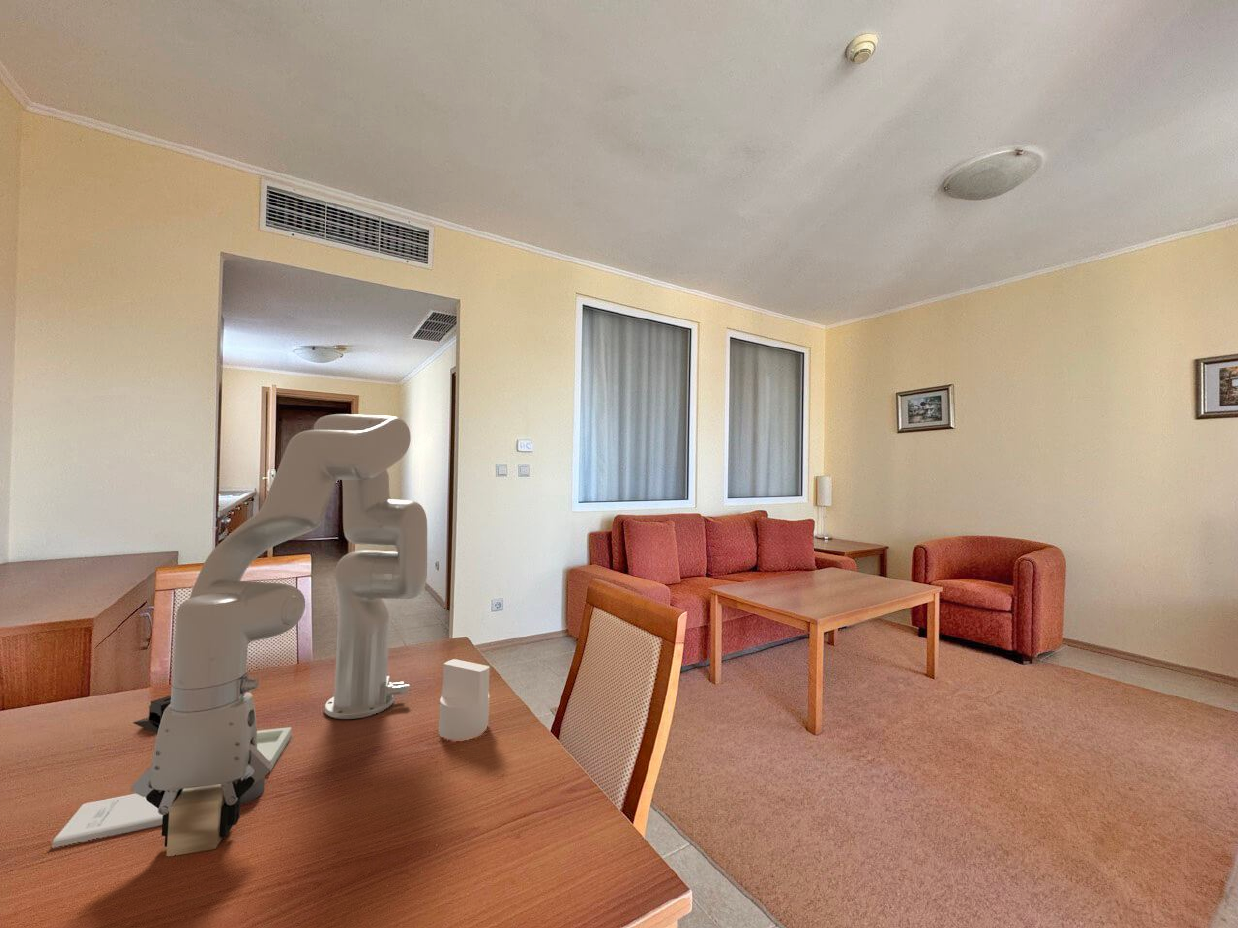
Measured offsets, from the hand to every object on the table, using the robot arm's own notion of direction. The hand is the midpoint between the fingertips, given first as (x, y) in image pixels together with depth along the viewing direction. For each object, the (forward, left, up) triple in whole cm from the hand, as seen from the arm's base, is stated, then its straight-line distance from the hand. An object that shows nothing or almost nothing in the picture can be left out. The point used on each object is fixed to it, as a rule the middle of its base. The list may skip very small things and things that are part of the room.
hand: (201, 833), depth 65 cm
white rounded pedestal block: (-33, -21, -1) cm, 39 cm away
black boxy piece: (+20, -37, -2) cm, 43 cm away
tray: (+2, -20, -1) cm, 20 cm away
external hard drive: (+11, -8, -2) cm, 14 cm away
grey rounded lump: (-2, -9, -1) cm, 9 cm away
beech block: (0, 0, -1) cm, 1 cm away
